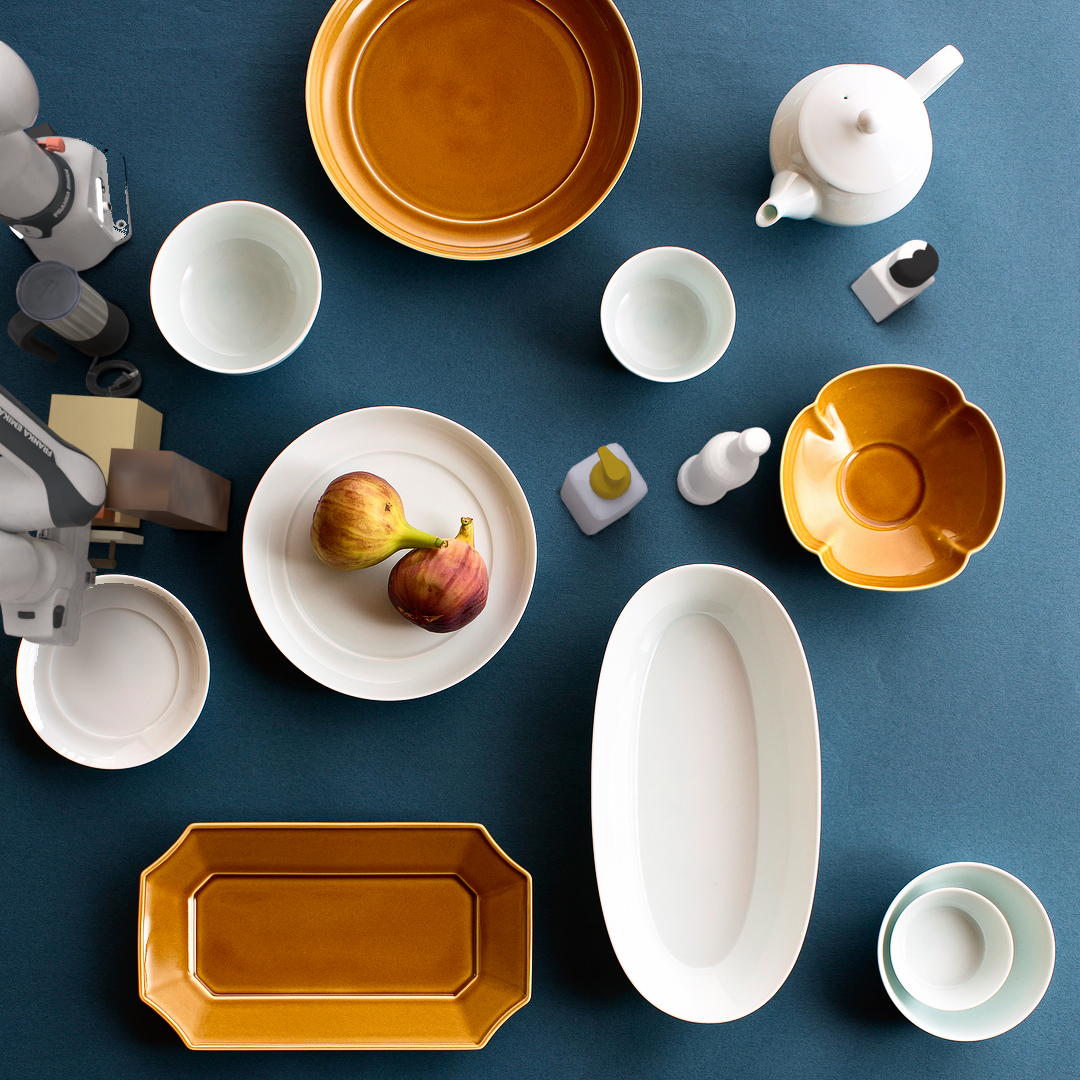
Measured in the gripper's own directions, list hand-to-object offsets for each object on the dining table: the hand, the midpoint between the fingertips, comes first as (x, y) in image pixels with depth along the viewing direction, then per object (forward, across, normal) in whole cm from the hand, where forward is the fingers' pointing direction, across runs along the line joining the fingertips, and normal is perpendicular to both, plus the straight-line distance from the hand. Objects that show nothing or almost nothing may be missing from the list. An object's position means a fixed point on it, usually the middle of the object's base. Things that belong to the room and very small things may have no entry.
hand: (91, 577), depth 119 cm
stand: (+4, -12, +14) cm, 19 cm away
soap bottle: (+4, -16, +76) cm, 78 cm away
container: (+4, -54, +123) cm, 135 cm away
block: (+2, -11, 0) cm, 11 cm away
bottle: (+4, -20, +93) cm, 95 cm away
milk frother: (+4, -36, -3) cm, 37 cm away
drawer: (+3, -10, 0) cm, 11 cm away
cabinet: (+4, -19, 0) cm, 20 cm away
